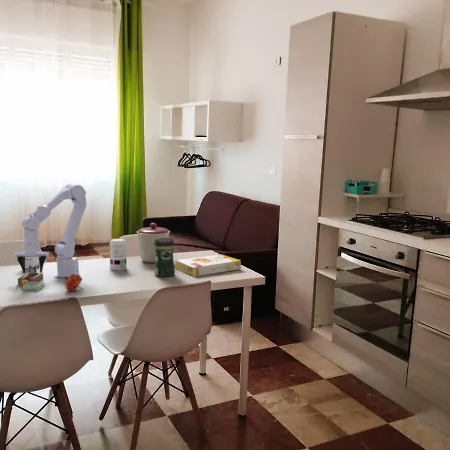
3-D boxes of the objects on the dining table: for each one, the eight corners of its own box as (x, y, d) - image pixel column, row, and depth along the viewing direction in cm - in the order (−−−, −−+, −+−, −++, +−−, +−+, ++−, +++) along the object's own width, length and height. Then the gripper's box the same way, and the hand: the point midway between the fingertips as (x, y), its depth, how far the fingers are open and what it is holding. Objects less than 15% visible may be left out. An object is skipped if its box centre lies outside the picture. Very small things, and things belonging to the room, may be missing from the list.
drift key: (33, 282, 215) (33, 277, 215) (28, 286, 210) (27, 280, 210) (27, 282, 215) (26, 276, 215) (21, 286, 210) (21, 280, 210)
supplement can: (106, 269, 241) (106, 240, 239) (116, 266, 248) (115, 238, 246) (120, 271, 238) (119, 242, 236) (129, 267, 245) (129, 239, 243)
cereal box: (241, 259, 244) (194, 266, 229) (241, 270, 245) (194, 277, 230) (220, 253, 261) (174, 258, 245) (220, 263, 262) (174, 269, 246)
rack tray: (44, 286, 210) (43, 281, 209) (38, 290, 203) (38, 285, 203) (29, 286, 210) (29, 281, 209) (23, 290, 203) (23, 285, 203)
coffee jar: (171, 272, 238) (171, 235, 235) (176, 276, 231) (176, 238, 228) (152, 274, 234) (152, 237, 231) (156, 278, 227) (156, 239, 224)
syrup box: (33, 269, 239) (32, 241, 237) (23, 268, 240) (21, 240, 238) (40, 266, 245) (38, 239, 242) (29, 266, 246) (28, 238, 244)
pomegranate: (81, 292, 209) (62, 279, 207) (90, 280, 208) (71, 267, 206) (76, 299, 202) (57, 286, 200) (86, 286, 201) (66, 273, 199)
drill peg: (37, 279, 220) (37, 265, 219) (35, 281, 217) (34, 266, 216) (31, 279, 220) (30, 265, 219) (28, 281, 217) (27, 266, 216)
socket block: (43, 279, 222) (42, 272, 221) (33, 285, 211) (33, 279, 210) (28, 278, 222) (27, 272, 221) (18, 285, 211) (17, 278, 210)
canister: (172, 263, 256) (172, 225, 252) (138, 265, 251) (137, 226, 248) (167, 256, 273) (167, 220, 270) (135, 258, 268) (135, 221, 265)
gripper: (49, 241, 221) (50, 269, 223) (16, 241, 219) (18, 270, 221) (46, 244, 214) (48, 273, 216) (12, 244, 212) (14, 274, 214)
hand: (32, 272), depth 218 cm, fingers open, 7 cm apart
